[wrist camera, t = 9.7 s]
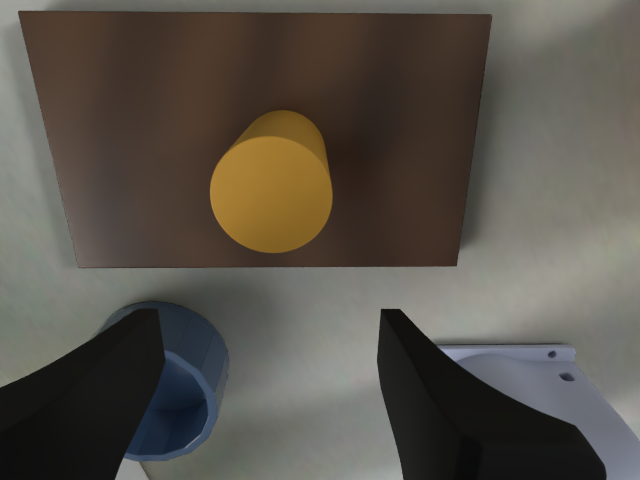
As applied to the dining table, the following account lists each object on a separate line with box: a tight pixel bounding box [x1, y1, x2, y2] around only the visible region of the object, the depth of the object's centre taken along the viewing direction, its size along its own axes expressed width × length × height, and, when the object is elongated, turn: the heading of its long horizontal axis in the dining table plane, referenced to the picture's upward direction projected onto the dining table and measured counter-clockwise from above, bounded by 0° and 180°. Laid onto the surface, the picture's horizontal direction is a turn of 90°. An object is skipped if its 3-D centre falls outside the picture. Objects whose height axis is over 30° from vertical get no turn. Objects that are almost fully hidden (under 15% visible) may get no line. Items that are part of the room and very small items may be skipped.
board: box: [18, 11, 492, 268], centre depth 21 cm, size 20×12×2 cm, turn 90°
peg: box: [210, 110, 333, 253], centre depth 17 cm, size 4×4×7 cm
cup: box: [90, 302, 229, 461], centre depth 25 cm, size 8×8×4 cm
